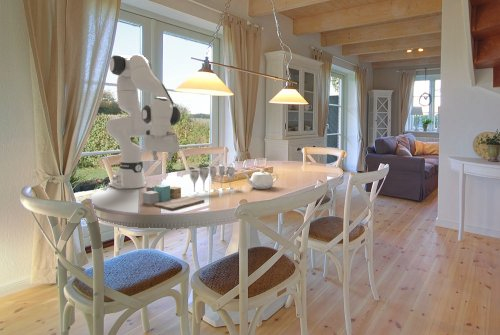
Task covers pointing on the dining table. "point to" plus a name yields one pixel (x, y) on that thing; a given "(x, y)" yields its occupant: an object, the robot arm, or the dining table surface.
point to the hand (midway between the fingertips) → (162, 161)
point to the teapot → (261, 179)
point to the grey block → (150, 197)
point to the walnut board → (178, 203)
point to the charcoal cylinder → (150, 189)
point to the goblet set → (204, 174)
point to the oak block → (175, 192)
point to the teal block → (163, 192)
